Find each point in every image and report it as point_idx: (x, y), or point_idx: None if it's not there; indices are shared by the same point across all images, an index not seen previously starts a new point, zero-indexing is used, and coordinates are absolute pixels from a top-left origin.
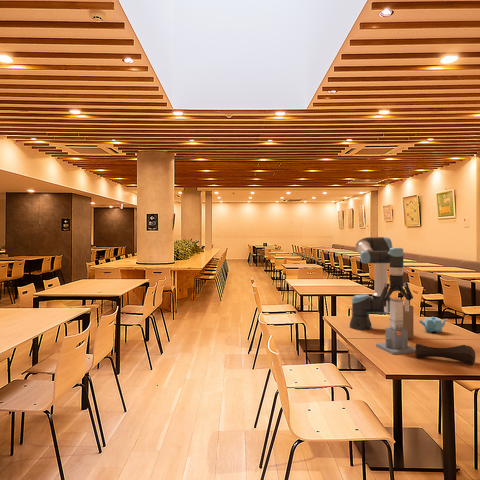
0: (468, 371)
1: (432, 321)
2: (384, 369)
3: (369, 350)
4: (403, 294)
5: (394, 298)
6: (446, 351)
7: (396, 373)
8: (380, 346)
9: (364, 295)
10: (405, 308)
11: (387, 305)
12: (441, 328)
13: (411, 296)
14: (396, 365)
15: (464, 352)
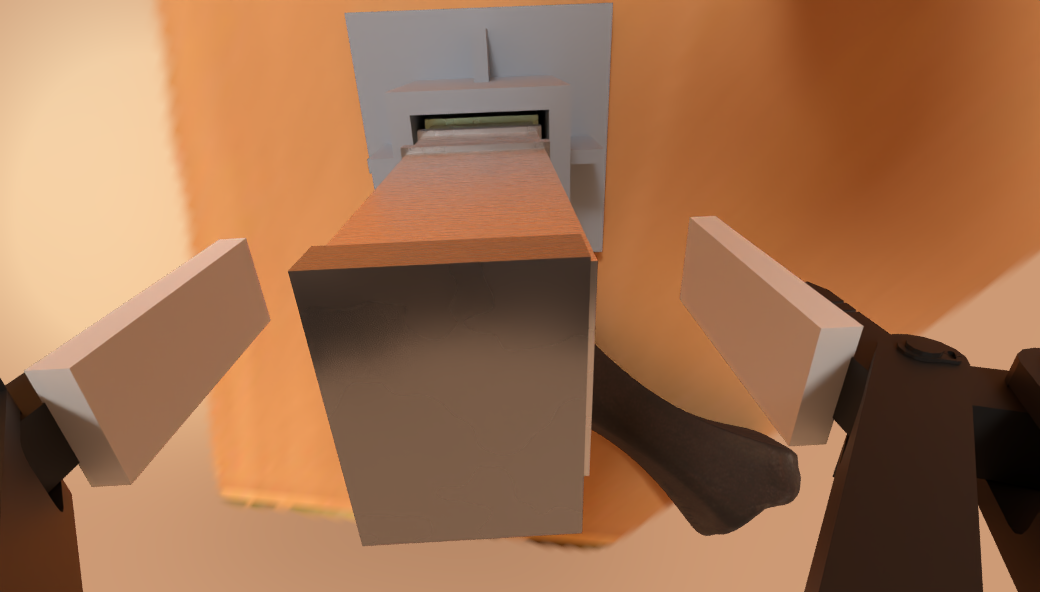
0: (616, 518)
1: None
2: (226, 456)
3: (245, 127)
4: (828, 528)
5: (499, 261)
6: (639, 461)
7: (268, 500)
8: (359, 93)
9: None
10: (703, 256)
11: (185, 404)
12: None
13: (1016, 520)
14: (317, 421)
15: (691, 523)
